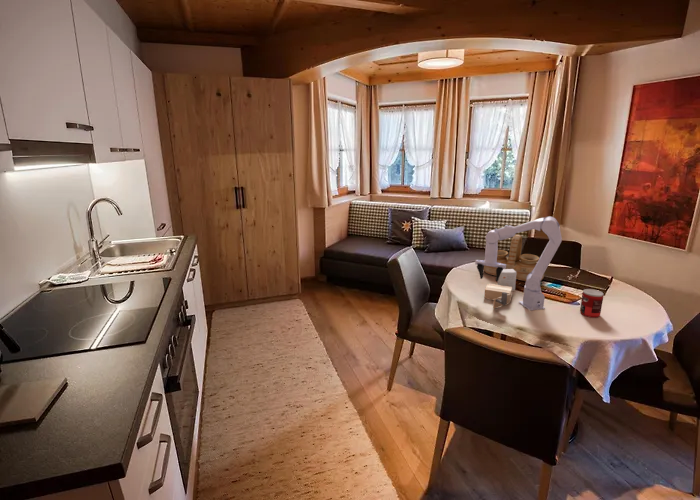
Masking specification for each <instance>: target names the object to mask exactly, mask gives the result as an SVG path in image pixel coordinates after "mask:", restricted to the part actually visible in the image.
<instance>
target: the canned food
mask: <svg viewBox="0 0 700 500" xmlns="http://www.w3.org/2000/svg"><path fill="white" fill-rule="evenodd" d="M582 290H583V291H582V296H581V301H580V307H579V308H580V309H579V312H580V314H581V315H582V316H585V317H588V318H598V317H600V316H601V313H602V307H603V302H604V295H605V294H604V293H603V292H604V291H600V290H599V289H598V290H597V289H593V288H586V289H585V288H584V289H582Z"/></svg>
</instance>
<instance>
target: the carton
mask: <svg viewBox="0 0 700 500" xmlns="http://www.w3.org/2000/svg"><path fill="white" fill-rule="evenodd" d="M502 292H506V293H507V294H511V297H512V294H513V290H512V287H508V286H502V285H497V284H493V283H487V284H486V287H485V289H484V298H483V299H485V298H486V300H491V301H492V300H493V301H494V299H496V298H499V297H502Z"/></svg>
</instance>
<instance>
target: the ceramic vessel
mask: <svg viewBox="0 0 700 500" xmlns="http://www.w3.org/2000/svg"><path fill="white" fill-rule="evenodd" d="M522 248H523V237H522V235H521V234H515V236H514V237H511V240H510V246H509V251H507V250H503V249H498V251H497V262H498V263H502V264H506V268H505V269H514V270H515V271H516V280H519V281H521V282H526V280H527V275H528V274H529V273H531V272H532V270H533V269H534V268H535V266H536V264H537V262H538V260H539V258H540V256H538V255H535V254H531V253H523V254H522ZM497 268H498V267H491V266H485V265H484V270H483V272H484V273H486V274H488V275H490V276H491V275H492V276H494V277H496V269H497ZM544 278H545V273H544V274H543V277H542V279H541V281H543V279H544Z"/></svg>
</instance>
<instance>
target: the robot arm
mask: <svg viewBox="0 0 700 500" xmlns="http://www.w3.org/2000/svg"><path fill="white" fill-rule="evenodd" d="M531 230H536V231H538V232H541V230H542V232H543V233H544V234H545V235H547V238H548V240H549V241H548V242H547V244H546V245H545V247H544V250H543V251H542V253H541V255H540V256H539V260H538V261H537V264H536V266H535V268H534V269H533V270H532V272H531V273H529V274H528V275H527V280H526V281H525V283H524V284H525V285H523V286H524V288H523V296H522V300H520V301H518V303H519V304H520V305H521V306H523V307H525V308H526V309H528V311H535V310H545V309H546V307H545V298H546V297H545V294H544V293H543V292H542V287H541V282H542V280H543V279H542V277H543V274H544V275H545V272H546V270H547V268H548V267H549V265H550V263H551V261H552V259H553V258H554V256H555V254H556V252H557V251H558V249H559V247H560V245H561V243H562V241H563V238H562V237H563V236H562V231H561V227H560V223H559V222H558V220H557V218H555V217H553V216H550V215H549V216H545V217H540V218H536V219H534V220H531V221H527V222H525V223H522V224H521V223H520V224H518V225H516V226H513V225H508V224H506V225H504V227H500V228H497V227H496V228H494V229H491V230H489V231H488V232H487V233H486V235H485V252H484V260H483V259H482V260H481V259H475V265H476V269H477V271H478V274H479V277H480V278H479V279H481V280H482V279H484V265H485V266H491V267H498V268H497V269H496V276H495V282H496V283H498V279H499V276H500V274H501V272H502V270H503V269H505V268H506V264H502V263H498V262H497V251H498V250H499V249H498V248H499V246H498V242H499V241H503V240H507V239H510V238H511V239H512V238H513V237H514V236H515V235H517V234H518V233H523V232H526V231H531ZM541 279H542V280H541Z"/></svg>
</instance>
